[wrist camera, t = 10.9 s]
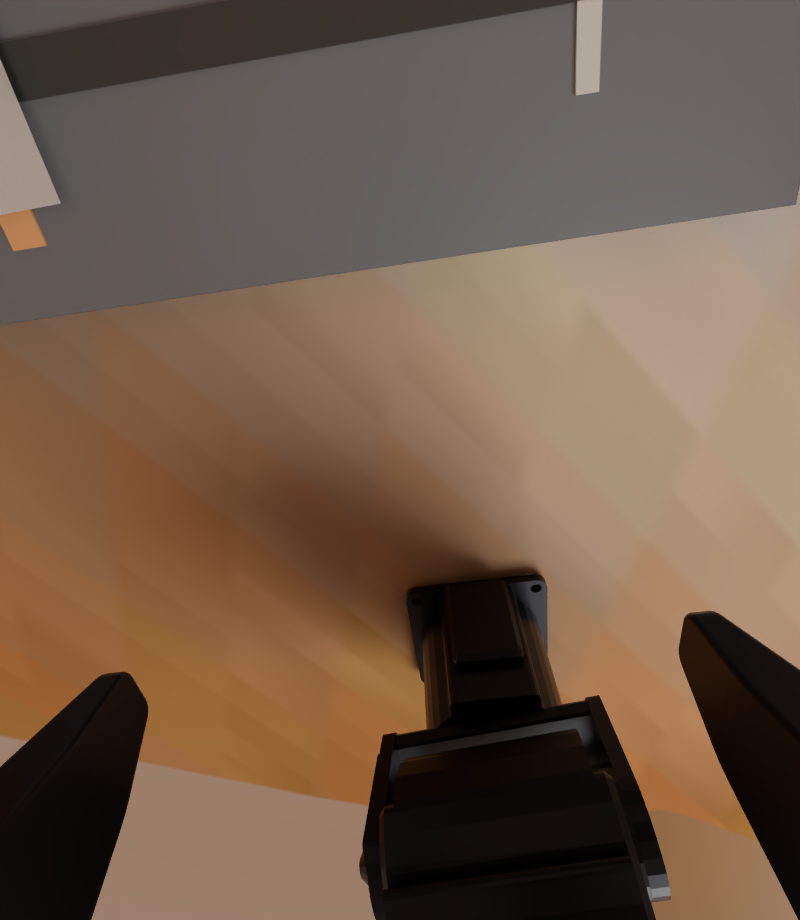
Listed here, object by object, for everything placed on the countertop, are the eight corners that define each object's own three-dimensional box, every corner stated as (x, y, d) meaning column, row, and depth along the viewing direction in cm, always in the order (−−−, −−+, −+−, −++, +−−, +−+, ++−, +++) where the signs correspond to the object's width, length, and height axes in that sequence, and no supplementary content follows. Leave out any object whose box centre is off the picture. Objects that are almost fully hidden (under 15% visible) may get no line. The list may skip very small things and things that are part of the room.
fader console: (755, 197, 17) (797, 204, 15) (-122, 331, 19) (-176, 351, 17) (867, -445, 11) (959, -560, 9) (-436, -152, 13) (-570, -199, 11)
